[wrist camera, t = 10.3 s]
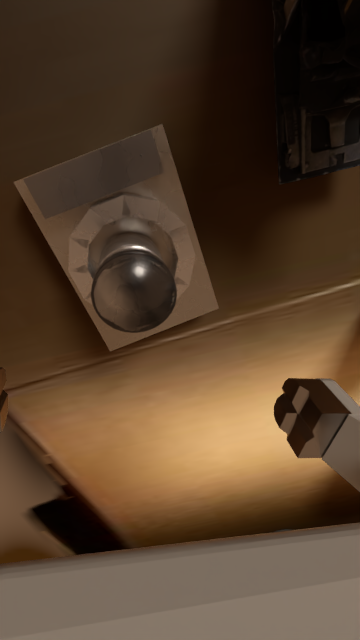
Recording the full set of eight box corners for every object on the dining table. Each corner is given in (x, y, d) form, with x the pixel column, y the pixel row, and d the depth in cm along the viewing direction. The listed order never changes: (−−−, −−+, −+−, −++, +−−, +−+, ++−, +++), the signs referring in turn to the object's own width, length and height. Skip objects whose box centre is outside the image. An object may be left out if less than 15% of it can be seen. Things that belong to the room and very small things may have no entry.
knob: (110, 219, 21) (107, 240, 16) (174, 245, 22) (190, 273, 17) (88, 281, 23) (79, 319, 18) (149, 301, 24) (157, 341, 19)
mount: (25, 179, 21) (3, 184, 17) (156, 128, 22) (167, 120, 17) (110, 334, 28) (110, 365, 24) (209, 294, 28) (226, 319, 24)
